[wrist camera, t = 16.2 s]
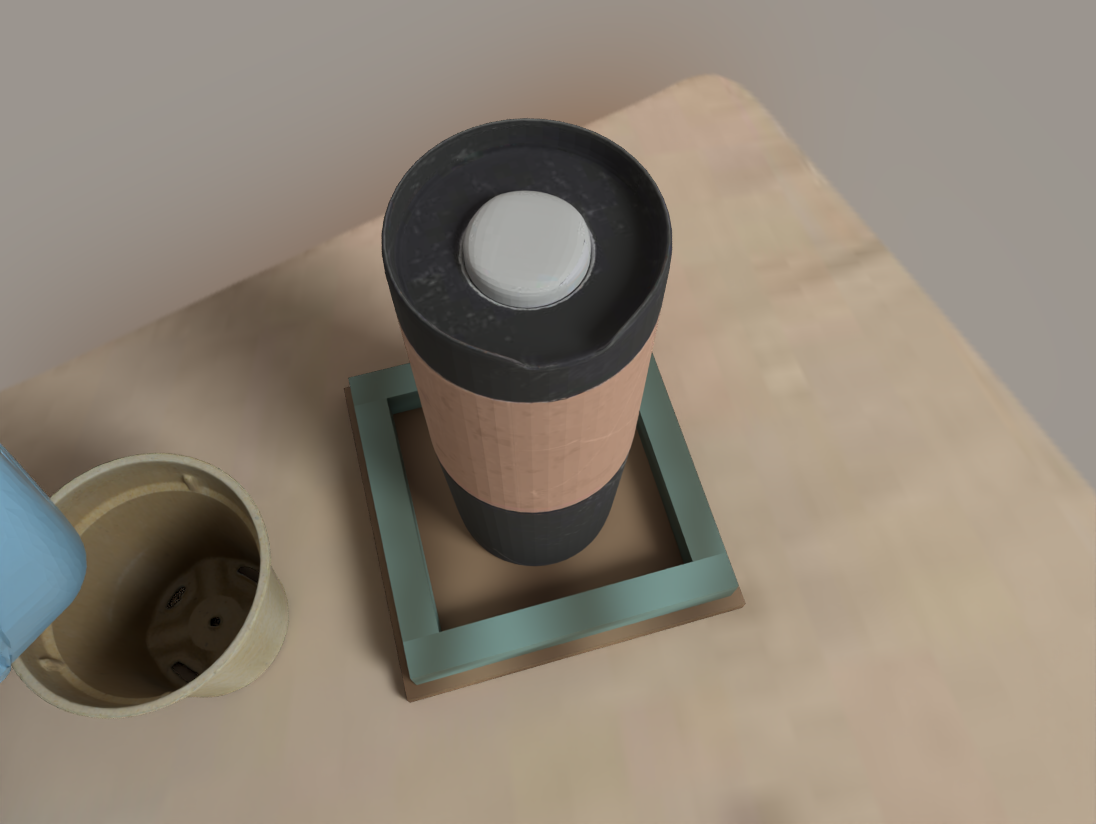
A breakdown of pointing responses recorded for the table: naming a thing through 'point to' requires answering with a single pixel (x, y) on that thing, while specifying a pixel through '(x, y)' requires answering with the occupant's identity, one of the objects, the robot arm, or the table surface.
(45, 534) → the robot arm
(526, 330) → the travel mug
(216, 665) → the flower pot
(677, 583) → the coaster dock
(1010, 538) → the table surface
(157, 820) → the table surface
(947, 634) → the table surface
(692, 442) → the table surface
